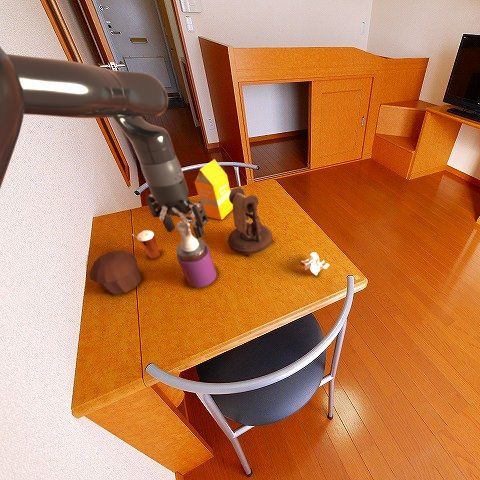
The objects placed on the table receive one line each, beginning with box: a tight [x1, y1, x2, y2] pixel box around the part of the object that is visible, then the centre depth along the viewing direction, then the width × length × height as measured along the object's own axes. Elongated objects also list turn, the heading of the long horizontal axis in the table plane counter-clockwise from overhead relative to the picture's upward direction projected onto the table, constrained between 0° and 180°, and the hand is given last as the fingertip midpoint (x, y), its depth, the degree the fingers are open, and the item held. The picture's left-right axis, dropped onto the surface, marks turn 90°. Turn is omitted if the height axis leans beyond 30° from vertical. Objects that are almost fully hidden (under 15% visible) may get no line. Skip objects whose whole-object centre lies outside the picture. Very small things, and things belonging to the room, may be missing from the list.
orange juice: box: [194, 158, 233, 221], centre depth 101 cm, size 8×9×20 cm
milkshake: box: [130, 230, 161, 259], centre depth 85 cm, size 4×5×10 cm
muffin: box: [88, 250, 142, 296], centre depth 76 cm, size 12×11×10 cm
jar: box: [176, 244, 218, 289], centre depth 79 cm, size 8×8×12 cm
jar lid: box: [175, 237, 207, 261], centre depth 75 cm, size 8×8×2 cm
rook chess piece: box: [175, 219, 199, 252], centre depth 72 cm, size 4×4×8 cm
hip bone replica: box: [300, 251, 330, 276], centre depth 85 cm, size 8×4×7 cm
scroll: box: [227, 186, 273, 257], centre depth 88 cm, size 15×15×20 cm
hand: (185, 233), depth 71 cm, fingers open, 8 cm apart
